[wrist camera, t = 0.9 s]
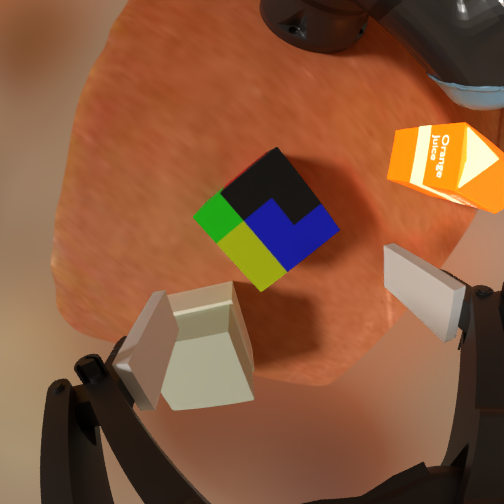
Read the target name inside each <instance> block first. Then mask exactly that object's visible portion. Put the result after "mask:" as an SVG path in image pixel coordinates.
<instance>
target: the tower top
mask: <svg viewBox="0 0 504 504" xmlns="http://www.w3.org/2000/svg"><path fill="white" fill-rule="evenodd" d="M175 319H176V322H177V325H178V327H179V332H178V335H177V338H176V342H175V345H174V348H173V351H172V355H171V358H170V361H169V365H168V368H167V371H166V375H165V378H164V382H163V385H162V389H161V393H162V395H163V396H164V398H165V399H166V401H167V402H168V404H169V405H170V406H171V408H172V409H173V410H185V409H195V408H204V407H212V406H220V405H227V404H233V403H239V402H245V401H251V400H254V387H253V374H252V367H251V364H250V362H249V359H248V356H247V353H246V350H245V347H244V345H243V342H242V339H241V336H240V333H239V330H238V327H237V324H236V321H235V318H234V315H233V312H232V309H231V306H230V304H226V305H221V306H217V307H213V308H208V309H204V310H199V311H195V312H190V313H185V314H181V315H176V316H175Z"/></svg>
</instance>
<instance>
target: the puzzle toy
mask: <svg viewBox="0 0 504 504" xmlns="http://www.w3.org/2000/svg"><path fill="white" fill-rule="evenodd" d="M193 218H194V219H195V220H196V221H197V222H198V224H199V225H200V226H201V227H202V228H203V229H204V230H205V231H206V233H207V234H208V235H209V236H210V237H211V238H212V239H213V240H214V241H215V243H216V244H217V245H218V246H219V247H220V248H221V249H222V250H223V251H224V252H225V254H226V255H227V256H228V257H229V258H230V259H231V260H232V261H233V262H234V263H235V265H236V266H237V267H238V268H239V269H240V270H241V271H242V272H243V273H244V274H245V275H246V277H247V278H248V279H249V280H250V281H251V282H252V283H253V284H254V285H255V286H256V287H257V288H258V290H259V291H260V292H262V291H263V290H265V289H266V288H267V287H269V286H270V285H271V284H273V283H274V282H275V281H276V280H278V279H279V278H280V277H282V276H283V275H284V274H286V273H287V272H288V271H289V270H291V269H292V268H293V267H295V266H296V265H297V264H298V263H300V262H301V261H302V260H303V259H305V258H306V257H307V256H308V255H310V254H311V253H312V252H314V251H315V250H316V249H317V248H319V247H320V246H321V245H322V244H324V243H325V242H326V241H327V240H328V239H330V238H331V237H332V236H333V235H335V234H336V233H337V232H338V231H340V229H339V228H338V226H337V225H336V223H335V222H334V221H333V219H332V218H331V216H330V215H329V214H328V212H327V211H326V209H325V208H324V207H323V205H322V204H321V202H320V201H319V200H318V198H317V197H316V196H315V194H314V193H313V192H312V190H311V189H310V188H309V186H308V185H307V184H306V182H305V181H304V180H303V179H302V177H301V176H300V175H299V173H298V172H297V171H296V170H295V168H294V167H293V166H292V164H291V163H290V162H289V161H288V159H287V158H286V157H285V156H284V155H283V153H282V152H281V151H280V150H279V148H278V147H276V148H274V149H272V150H270V151H268V152H266V153H265V154H264V155H262V156H261V157H260V158H258V159H257V160H256V161H255V162H253V163H252V164H251V165H250V166H249V167H247V168H246V169H245V170H244V171H242V172H241V173H240V174H239V175H238V176H236V177H235V178H234V179H233V180H231V181H230V182H229V183H228V184H227V185H226V186H224V187H223V188H222V189H221V190H220V191H218V192H217V193H216V194H215V195H214V196H213V197H211V198H210V199H209V200H208V201H207V202H206V203H205V204H204V205H203V206H202V207H201V208H200V209H199V210H198V212H197V213H196V214H195V215H194V216H193Z"/></svg>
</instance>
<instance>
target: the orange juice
mask: <svg viewBox="0 0 504 504" xmlns="http://www.w3.org/2000/svg"><path fill="white" fill-rule="evenodd" d="M387 179H388V180H391V181H394V182H397V183H399V184H402V185H405V186H407V187H410V188H412V189H415V190H417V191H420V192H422V193H425V194H427V195H430V196H434V197H438V198H442V199H446V200H450V201H453V202H456V203H460V204H464V205H468V206H472V207H475V208H479V209H482V210H485V211H489V212H492V213H494V214H496V213H497V212H499V211H501V210H502V209H504V153H503V152H502V151H501V150H500V149H499V148H498V147H496V146H495V145H494V144H493V143H492V142H490V141H489V140H488V139H487V138H485V137H484V136H483V135H482V134H480V133H479V132H478V131H476V130H475V129H474V128H472V127H471V126H470V125H468V124H467V123H466V122H465V123H452V124H442V125H433V126H432V125H429V126H421V127H417V128H409V129H403V130H396V132H395V138H394V144H393V150H392V156H391V161H390V166H389V171H388V176H387Z"/></svg>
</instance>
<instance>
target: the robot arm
mask: <svg viewBox="0 0 504 504" xmlns="http://www.w3.org/2000/svg"><path fill="white" fill-rule="evenodd" d="M398 3H399V4H398ZM397 4H398V5H397ZM392 8H393V9H392ZM391 9H392V10H391ZM260 13H261V16H262V18H263V20H264V22H265V24H266V25H267V26H268V28H269V29H270V30H271V31H272V32H273V33H274V34H276V35H277V36H278V37H279V38H281V39H282V40H284V41H286V42H287V43H289V44H291V45H293V46H296V47H298V48H301V49H304V50H308V51H312V52H319V53H333V52H339V51H343V50H345V49H347V48H349V47H351V46H352V45H354V44H355V43H356V42H357V41H358V40H359V39H360V38H361V37H362V35H363V34H364V32H365V30H366V27H367V23H368V18H369V15H370V16H371V17H373V18H374V19H375V20H376V21H377V22H378V23H379V24H380V25H382V26H383V27H384V28H385V29H386V30H387V31H388V32H389V33H390V34H391V35H393V36H394V37H395V38H396V39H397V40H398V41H399V42H400V43H401V44H402V45H403V46H404V47H405V48H406V49H407V50H408V51H409V52H410V53H411V54H412V56H413V57H414V58H415V59H416V60H417V61H418V62H419V63H420V64H421V65H422V67H423V68H424V69H425V70H426V73H427V75H428V76H429V77H430V78H431V79H432V80H433V81H435V82H436V83H437V84H438V85H439V86H440V88H441V89H442V90H443V91H444V92H445V94H446V95H447V96H448V97H449V98H450V99H451V100H452V101H453V102H454V103H456V104H457V105H459V106H462V107H465V108H468V109H471V110H479V111H487V110H496V109H501V108H504V0H260ZM383 16H384V17H383ZM384 287H385V288H387V289H388V290H389V291H390V292H391V293H392V294H393V295H394V296H395V297H397V298H398V299H399V300H400V301H401V302H402V303H403V304H404V305H405V306H406V307H407V308H408V309H410V310H411V311H412V312H413V313H414V314H415V315H416V316H417V317H418V318H419V319H420V320H421V321H422V322H423V323H424V324H425V325H426V326H427V327H428V328H429V329H431V330H432V331H433V332H434V333H435V334H436V335H437V336H438V337H439V338H440V339H441V340H442V341H443V342H444V343H446V342H448V341H450V340H452V339H454V338H455V337H456V333H457V329H458V327H459V328H460V329H461V330H462V335H461V339H460V343H459V347H458V350H460V347H461V355H460V373H459V383H458V393H457V400H456V408H455V414H454V420H453V425H452V431H451V435H450V440H449V444H448V448H447V452H446V455H445V458H444V459H443V462H442V464H441V466H433V467H426V466H425V464H424V462H421V463H420V464H417V465H415V466H413V467H411V468H409V469H407V470H405V471H403V472H401V473H398V474H396V475H394V476H392V477H391V478H389V479H388V480H386V481H385V482H383V483H382V484H380V485H378V486H377V487H375V488H374V489H372V490H371V491H369V492H367V493H366V494H364V495H362V496H359V497H351V498H341V499H324V500H317V501H312V502H307V503H303V504H504V282H503V286H502V291H497V292H494V291H493V290H492V289H491V288H490V287H487V286H483V285H477V286H474V287H471V286H470V285H468V284H467V283H465V282H463V281H462V280H460V279H458V278H457V277H455V276H453V275H452V274H451V273H449V272H447V271H445V270H441V269H438V268H436V267H435V266H433V265H431V264H430V263H428V262H426V261H425V260H423V259H421V258H420V257H418V256H416V255H414V254H413V253H411V252H409V251H407V250H406V249H404V248H402V247H400V246H398V245H397V244H395V243H392V244H387V245H384ZM178 332H179V327H178V325H177V322H176V319H175V316H174V314H173V311H172V308H171V305H170V302H169V299H168V297H167V294H166V291H165V290H162V291H157V292H153V294H152V295H151V297H150V299H149V300H148V302H147V304H146V305H145V307H144V309H143V310H142V312H141V314H140V315H139V317H138V319H137V320H136V322H135V324H134V326H133V327H132V329H131V331H130V332H129V334H128V336H123V337H122V338H121V339H120V340H119V341H118V342H117V343H116V345H115V347H114V350H112V352H111V353H110V354H111V355H110V356H109V357H108V359H107V360H106V362H105V364H104V363H103V361H102V359H101V357H100V356H99V355H98V354H89V355H87V356H84V357H82V358H81V359H79V360H78V361H77V362H76V364H75V366H74V370H75V372H76V373H77V375H78V377H79V378H80V380H81V381H82V383H83V384H82V385H77V386H72V385H71V383H70V382H69V381H68V380H67V379H59V380H57V381H54V382H53V383H52V384H51V385H50V387H49V388H48V391H47V396H46V403H45V410H44V418H43V427H42V439H41V456H40V487H41V503H42V504H114V501H113V498H112V494H111V490H110V485H109V481H108V477H107V471H106V467H105V461H104V456H103V449H102V443H101V435H100V427H99V426H101V428H102V430H103V433H104V435H105V437H106V439H107V441H108V443H109V445H110V447H111V449H112V451H113V452H114V454H115V456H116V458H117V460H118V462H119V464H120V465H121V467H122V469H123V471H124V472H125V474H126V476H127V477H128V479H129V481H130V482H131V484H132V485H133V487H134V488H135V490H136V492H137V493H138V495H139V496H140V497H141V499H142V501H143V502H144V503H145V504H211V503H210V502H209V501H208V500H207V499H206V498H205V497H204V496H203V495H202V494H201V493H200V492H199V491H198V490H197V489H196V488H195V487H194V486H193V485H192V484H191V483H190V482H189V481H188V480H187V479H186V477H185V476H184V475H183V474H182V473H181V472H180V471H179V470H178V468H177V467H176V466H175V465H174V464H173V462H172V461H171V460H170V459H169V458H168V456H167V455H166V454H165V453H164V452H163V450H162V449H161V448H160V446H159V445H158V444H157V442H156V441H155V440H154V439H153V437H152V436H151V434H150V433H149V432H148V430H147V429H146V428H145V426H144V425H143V423H142V422H141V420H140V419H139V418H138V416H137V415H136V413H135V412H134V410H133V409H132V408H133V404H134V402H135V403H136V404H137V406H138V408H139V409H140V410H156V407H157V403H158V399H159V396H160V392H161V389H162V385H163V382H164V378H165V375H166V371H167V368H168V365H169V361H170V358H171V355H172V351H173V348H174V345H175V342H176V338H177V335H178Z"/></svg>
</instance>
